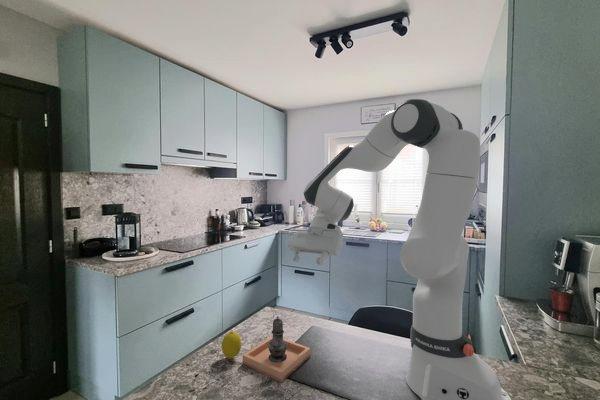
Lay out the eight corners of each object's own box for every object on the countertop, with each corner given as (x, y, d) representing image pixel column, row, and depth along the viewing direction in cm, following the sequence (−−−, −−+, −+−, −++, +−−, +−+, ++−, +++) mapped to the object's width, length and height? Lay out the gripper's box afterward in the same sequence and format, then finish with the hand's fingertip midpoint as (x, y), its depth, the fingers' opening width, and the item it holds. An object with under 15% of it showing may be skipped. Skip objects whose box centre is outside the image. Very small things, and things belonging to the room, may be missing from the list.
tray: (310, 356, 81) (310, 348, 81) (281, 382, 69) (281, 372, 69) (274, 342, 89) (274, 335, 89) (242, 363, 77) (242, 354, 77)
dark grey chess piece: (287, 363, 76) (287, 320, 76) (266, 363, 76) (266, 320, 76) (288, 351, 82) (288, 311, 82) (268, 351, 82) (269, 311, 82)
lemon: (236, 365, 76) (236, 336, 76) (218, 362, 78) (218, 334, 78) (244, 354, 82) (244, 327, 82) (227, 352, 83) (227, 326, 83)
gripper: (293, 224, 104) (278, 253, 96) (342, 226, 93) (329, 259, 85) (300, 234, 108) (285, 264, 100) (348, 237, 96) (336, 271, 88)
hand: (306, 262), depth 92 cm, fingers open, 8 cm apart
